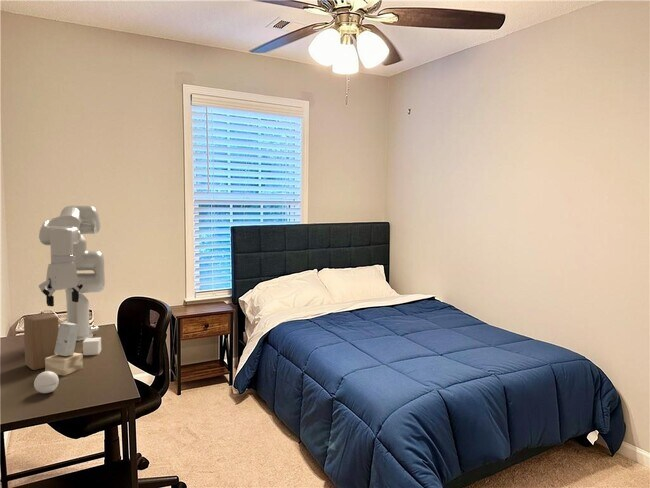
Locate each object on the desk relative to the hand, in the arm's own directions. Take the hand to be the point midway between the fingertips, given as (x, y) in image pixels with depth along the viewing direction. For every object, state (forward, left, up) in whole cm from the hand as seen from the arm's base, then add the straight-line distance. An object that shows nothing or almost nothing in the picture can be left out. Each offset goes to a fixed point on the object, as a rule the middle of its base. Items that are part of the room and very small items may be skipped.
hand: (63, 303), depth 177 cm
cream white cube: (-19, -11, -26) cm, 34 cm away
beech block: (0, 0, -26) cm, 26 cm away
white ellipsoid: (+15, +17, -26) cm, 35 cm away
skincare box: (0, 0, -20) cm, 20 cm away
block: (+1, -13, -26) cm, 29 cm away
